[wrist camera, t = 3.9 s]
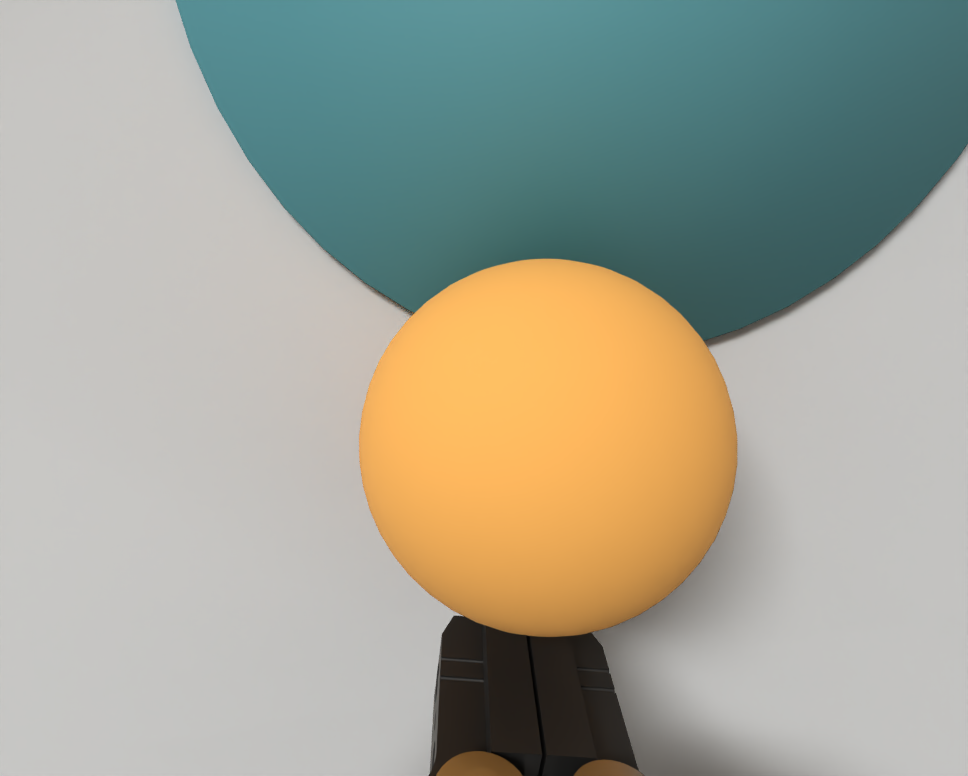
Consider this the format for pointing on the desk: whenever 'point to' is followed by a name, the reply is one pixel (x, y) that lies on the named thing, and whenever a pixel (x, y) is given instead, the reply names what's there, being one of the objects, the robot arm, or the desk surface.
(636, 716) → the desk surface
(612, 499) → the ball
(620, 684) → the desk surface
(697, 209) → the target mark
